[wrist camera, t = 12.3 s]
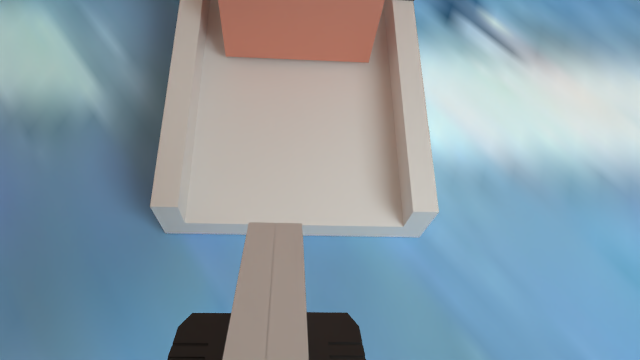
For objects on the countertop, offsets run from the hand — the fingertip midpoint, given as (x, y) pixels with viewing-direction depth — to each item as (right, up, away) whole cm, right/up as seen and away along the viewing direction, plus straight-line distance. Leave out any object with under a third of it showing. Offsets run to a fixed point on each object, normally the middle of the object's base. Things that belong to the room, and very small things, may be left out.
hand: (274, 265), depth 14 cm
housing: (0, +10, +16) cm, 19 cm away
